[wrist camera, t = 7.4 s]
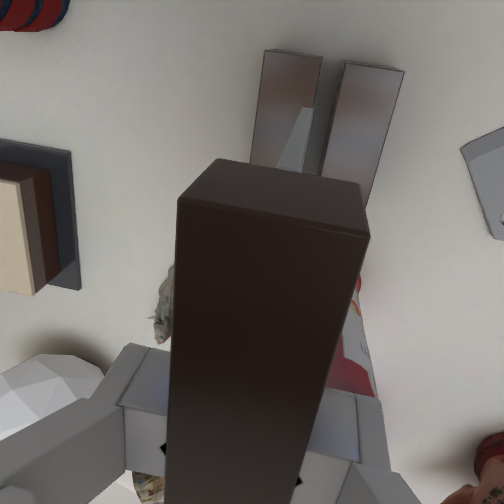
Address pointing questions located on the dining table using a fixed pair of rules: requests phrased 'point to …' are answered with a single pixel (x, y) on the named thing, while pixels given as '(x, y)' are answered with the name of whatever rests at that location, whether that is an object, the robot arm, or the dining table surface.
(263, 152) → the slicer stand
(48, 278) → the cake
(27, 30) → the book
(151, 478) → the seashell
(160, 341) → the fish
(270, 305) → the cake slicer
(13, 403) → the geometric shape
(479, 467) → the decorative planter
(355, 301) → the liquor
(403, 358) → the dining table surface
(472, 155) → the kitchen cleaver
